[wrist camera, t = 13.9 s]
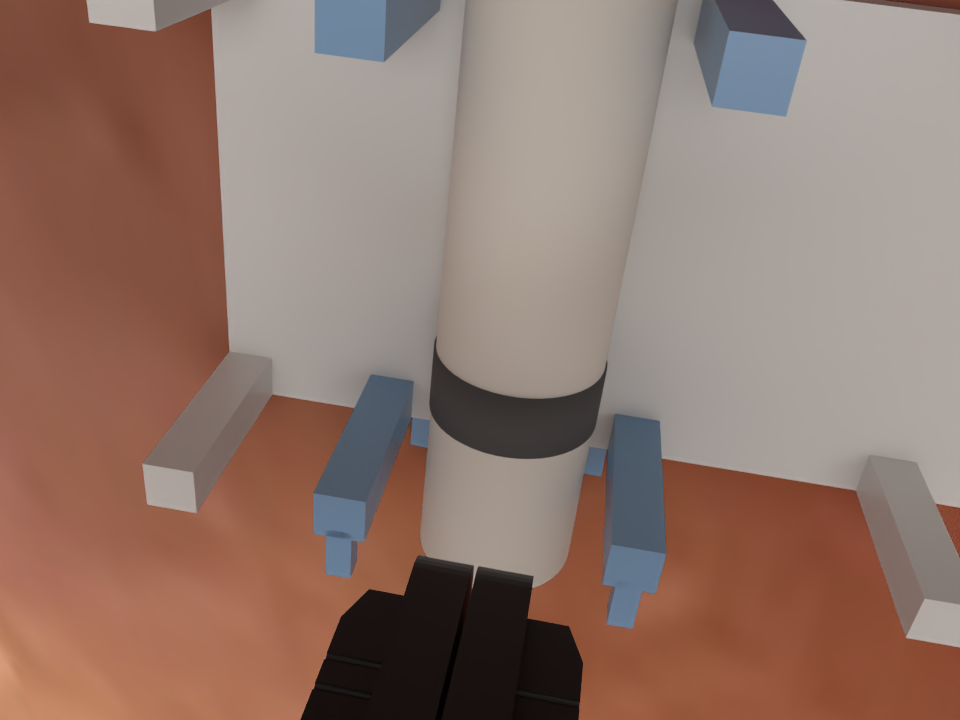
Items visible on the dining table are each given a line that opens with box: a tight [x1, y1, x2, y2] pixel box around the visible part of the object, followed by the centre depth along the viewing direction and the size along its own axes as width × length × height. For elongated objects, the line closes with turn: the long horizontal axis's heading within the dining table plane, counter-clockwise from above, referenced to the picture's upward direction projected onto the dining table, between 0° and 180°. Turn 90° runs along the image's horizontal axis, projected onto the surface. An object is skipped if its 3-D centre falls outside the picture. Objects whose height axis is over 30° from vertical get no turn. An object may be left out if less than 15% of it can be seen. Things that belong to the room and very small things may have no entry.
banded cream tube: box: [420, 0, 678, 588], centre depth 20 cm, size 16×4×4 cm, turn 174°
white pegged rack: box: [87, 0, 960, 647], centre depth 20 cm, size 26×13×6 cm, turn 84°
